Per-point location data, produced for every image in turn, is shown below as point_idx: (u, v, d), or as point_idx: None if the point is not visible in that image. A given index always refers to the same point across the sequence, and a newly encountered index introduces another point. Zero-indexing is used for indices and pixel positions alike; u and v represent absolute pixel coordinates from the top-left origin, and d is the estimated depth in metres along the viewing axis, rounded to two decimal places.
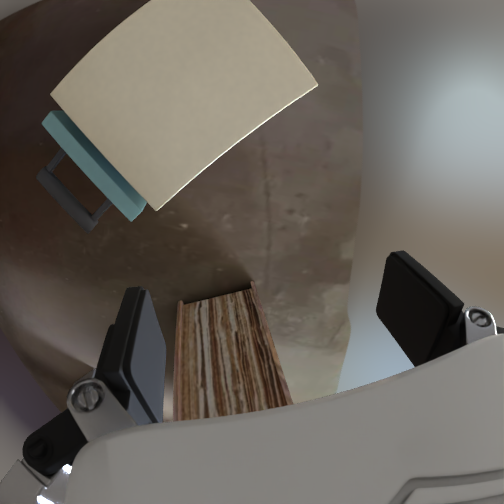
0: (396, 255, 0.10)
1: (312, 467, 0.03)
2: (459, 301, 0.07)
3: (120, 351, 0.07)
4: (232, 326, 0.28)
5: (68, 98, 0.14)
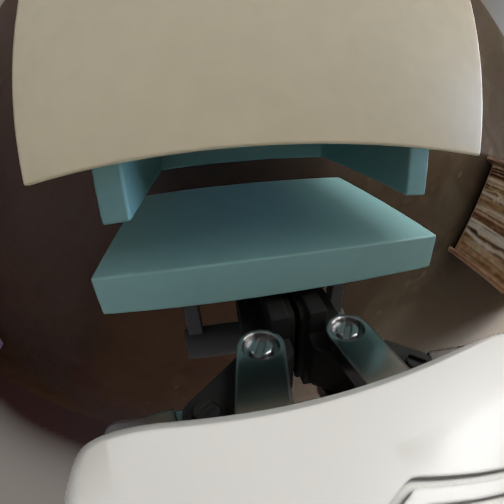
0: None
1: (312, 467, 0.03)
2: (322, 307, 0.08)
3: (279, 303, 0.08)
4: None
5: (72, 132, 0.04)
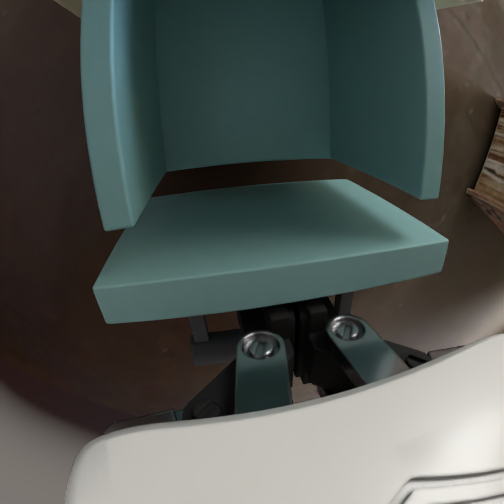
0: None
1: (312, 467, 0.03)
2: (322, 307, 0.08)
3: None
4: None
5: None
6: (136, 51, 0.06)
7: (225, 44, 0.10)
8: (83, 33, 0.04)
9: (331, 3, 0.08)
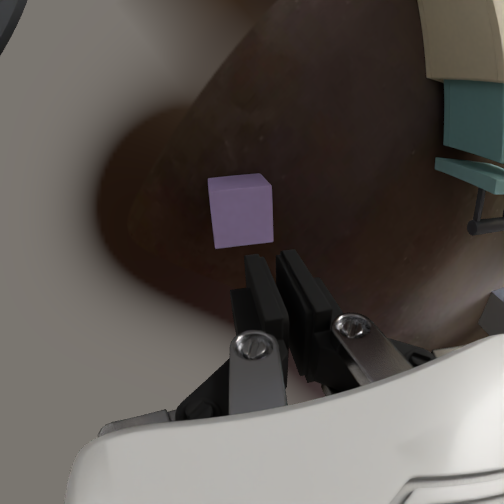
0: (283, 254, 0.11)
1: (312, 467, 0.03)
2: (327, 306, 0.08)
3: (273, 303, 0.08)
4: None
5: None
6: None
7: None
8: (503, 105, 0.13)
9: None
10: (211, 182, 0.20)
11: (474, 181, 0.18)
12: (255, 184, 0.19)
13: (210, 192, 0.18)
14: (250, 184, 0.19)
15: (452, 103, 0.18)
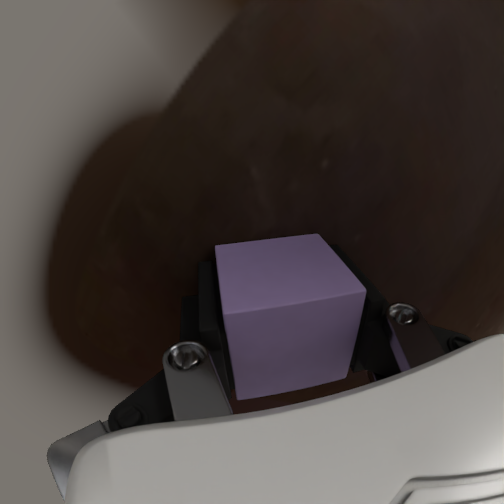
0: None
1: (312, 467, 0.03)
2: (380, 296, 0.08)
3: (213, 313, 0.08)
4: None
5: None
6: None
7: None
8: None
9: None
10: (224, 265, 0.09)
11: None
12: (328, 283, 0.08)
13: (227, 315, 0.07)
14: (317, 283, 0.08)
15: None
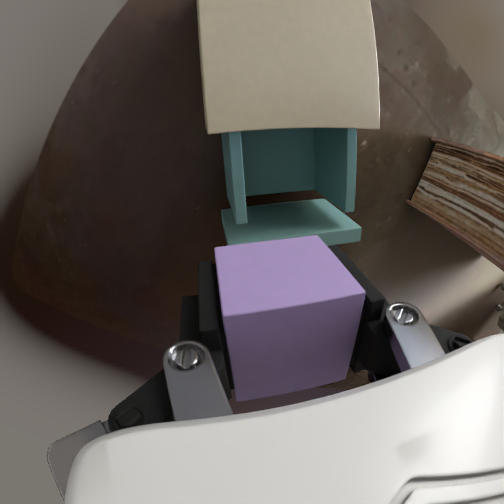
0: None
1: (312, 467, 0.03)
2: (380, 296, 0.08)
3: (213, 313, 0.08)
4: (459, 174, 0.24)
5: (231, 118, 0.16)
6: None
7: (265, 134, 0.24)
8: (231, 157, 0.18)
9: None
10: (224, 267, 0.09)
11: (226, 241, 0.23)
12: (327, 285, 0.08)
13: (226, 317, 0.07)
14: (316, 285, 0.08)
15: (223, 153, 0.23)
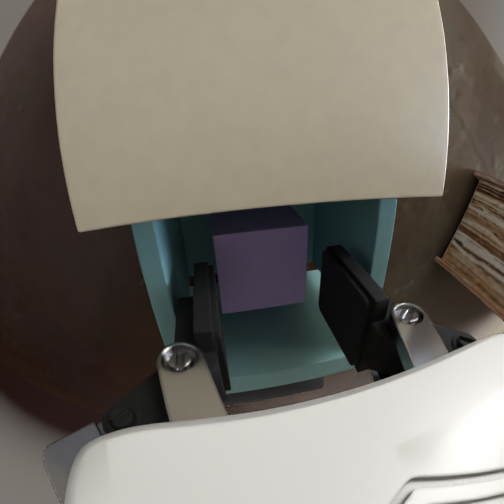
0: (330, 249, 0.11)
1: (312, 467, 0.03)
2: (385, 296, 0.08)
3: (207, 314, 0.08)
4: None
5: (118, 196, 0.07)
6: (169, 232, 0.11)
7: None
8: (141, 261, 0.09)
9: None
10: (215, 215, 0.14)
11: None
12: (282, 222, 0.12)
13: (215, 237, 0.12)
14: (275, 222, 0.12)
15: None
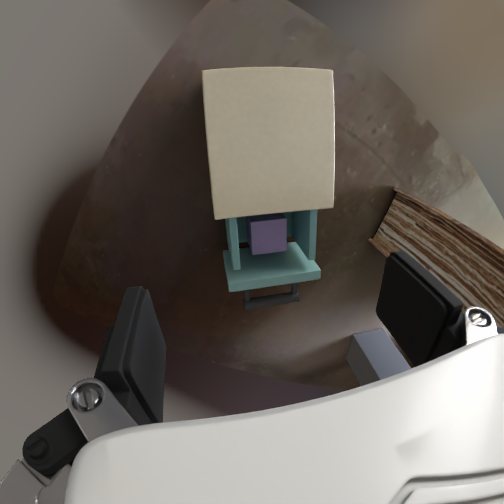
0: (396, 255, 0.10)
1: (312, 467, 0.03)
2: (460, 301, 0.07)
3: (120, 351, 0.07)
4: (410, 222, 0.34)
5: (230, 209, 0.26)
6: None
7: None
8: (230, 229, 0.28)
9: None
10: None
11: None
12: (276, 217, 0.32)
13: (251, 222, 0.31)
14: (273, 217, 0.32)
15: None
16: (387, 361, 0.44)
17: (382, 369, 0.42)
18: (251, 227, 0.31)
